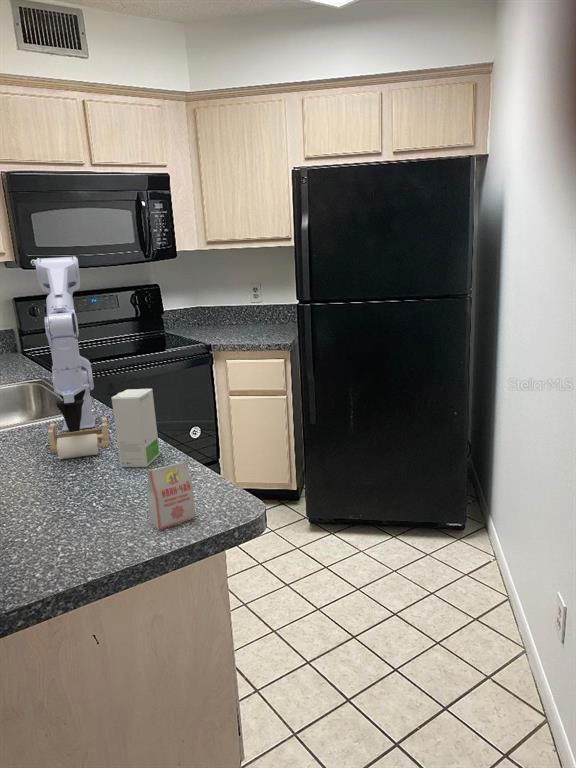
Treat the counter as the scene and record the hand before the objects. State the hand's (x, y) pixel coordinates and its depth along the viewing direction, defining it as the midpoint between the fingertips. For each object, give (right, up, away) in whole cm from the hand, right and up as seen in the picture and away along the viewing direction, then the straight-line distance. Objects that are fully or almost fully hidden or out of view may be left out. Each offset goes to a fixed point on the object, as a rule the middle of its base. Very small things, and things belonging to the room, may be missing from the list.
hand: (75, 426), depth 135 cm
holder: (-2, -5, +10) cm, 11 cm away
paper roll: (0, -5, +1) cm, 5 cm away
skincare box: (+15, -8, -3) cm, 17 cm away
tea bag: (+28, -14, -32) cm, 45 cm away
